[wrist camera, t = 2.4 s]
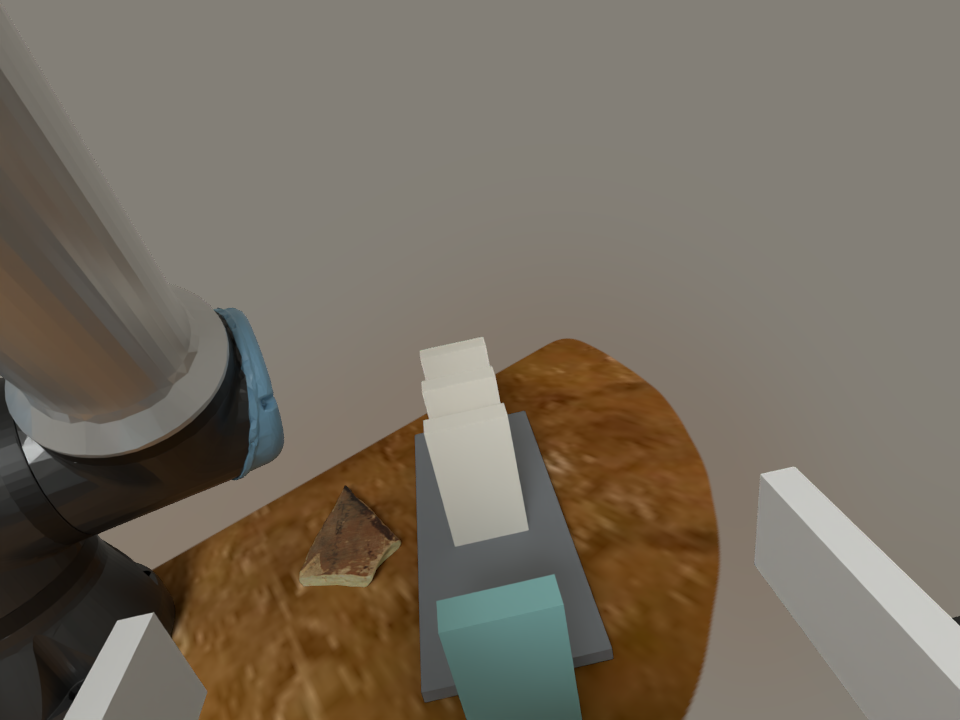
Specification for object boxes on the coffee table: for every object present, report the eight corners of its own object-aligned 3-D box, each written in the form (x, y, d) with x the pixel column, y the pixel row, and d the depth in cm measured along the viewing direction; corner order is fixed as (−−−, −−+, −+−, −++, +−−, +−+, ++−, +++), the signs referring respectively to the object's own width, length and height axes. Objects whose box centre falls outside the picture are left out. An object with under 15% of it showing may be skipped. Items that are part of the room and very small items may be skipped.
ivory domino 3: (455, 546, 43) (424, 434, 38) (453, 530, 45) (423, 420, 40) (528, 530, 44) (507, 416, 39) (524, 514, 45) (503, 402, 40)
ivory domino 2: (449, 496, 49) (421, 392, 44) (448, 483, 50) (421, 381, 45) (515, 481, 49) (495, 376, 44) (512, 469, 51) (492, 366, 46)
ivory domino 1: (445, 456, 54) (420, 358, 49) (444, 445, 56) (419, 350, 51) (504, 443, 54) (485, 344, 49) (501, 433, 56) (483, 336, 51)
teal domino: (480, 760, 31) (438, 633, 26) (476, 726, 32) (436, 601, 27) (584, 735, 31) (563, 604, 26) (575, 703, 32) (554, 574, 27)
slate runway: (425, 702, 34) (421, 692, 33) (417, 442, 59) (414, 434, 58) (613, 658, 34) (612, 648, 34) (526, 418, 59) (524, 410, 59)
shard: (349, 496, 54) (344, 482, 53) (423, 496, 52) (419, 481, 51) (299, 590, 44) (292, 574, 43) (387, 593, 43) (381, 577, 42)
